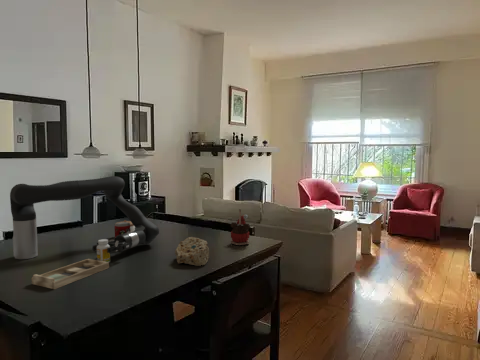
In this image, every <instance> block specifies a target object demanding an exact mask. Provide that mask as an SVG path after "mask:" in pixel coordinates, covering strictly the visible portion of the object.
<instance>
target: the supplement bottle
mask: <svg viewBox="0 0 480 360" xmlns="http://www.w3.org/2000/svg"><path fill="white" fill-rule="evenodd" d="M108 241H109V239H107V238H102V239H98V240H97V242H98V244H99V245H98V246H97V250H96V260H99V261H104V262H109V263H111V253H107V248H109V247H110V246H109V245H108V244H107V243H108Z"/></svg>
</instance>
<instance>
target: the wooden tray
mask: <svg viewBox="0 0 480 360" xmlns="http://www.w3.org/2000/svg"><path fill="white" fill-rule="evenodd" d="M107 269H110V262H104V261H99V260H97V259H93V258H86V259H83V260H80V261H77V262H74V263H70V264H68V265H65V266H61V267H59V268H56V269H53V270H50V271H46V272H44V273H42V274H37V273H36V274H33V275H32V277H31V285H35V286H38V287H39V286H40V287H43V288H48V289H51V290H57V289H59V288H62V287H64V286H66V285H69V284H71V283H75V282H77V281H79V280H82V279H85V278H87V277H89V276H92V275H95V274H98V273H100V272H103V271H105V270H107Z"/></svg>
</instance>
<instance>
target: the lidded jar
mask: <svg viewBox="0 0 480 360" xmlns="http://www.w3.org/2000/svg"><path fill="white" fill-rule="evenodd" d="M120 222H121V221H118V222H115V223H114V225H115V224H116V223H120ZM122 222H128V223H130V232H133V231H136V227H135V226H134V225H133V224H132V222H131V221H130V220H126V219H124V220H123V221H122Z"/></svg>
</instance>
